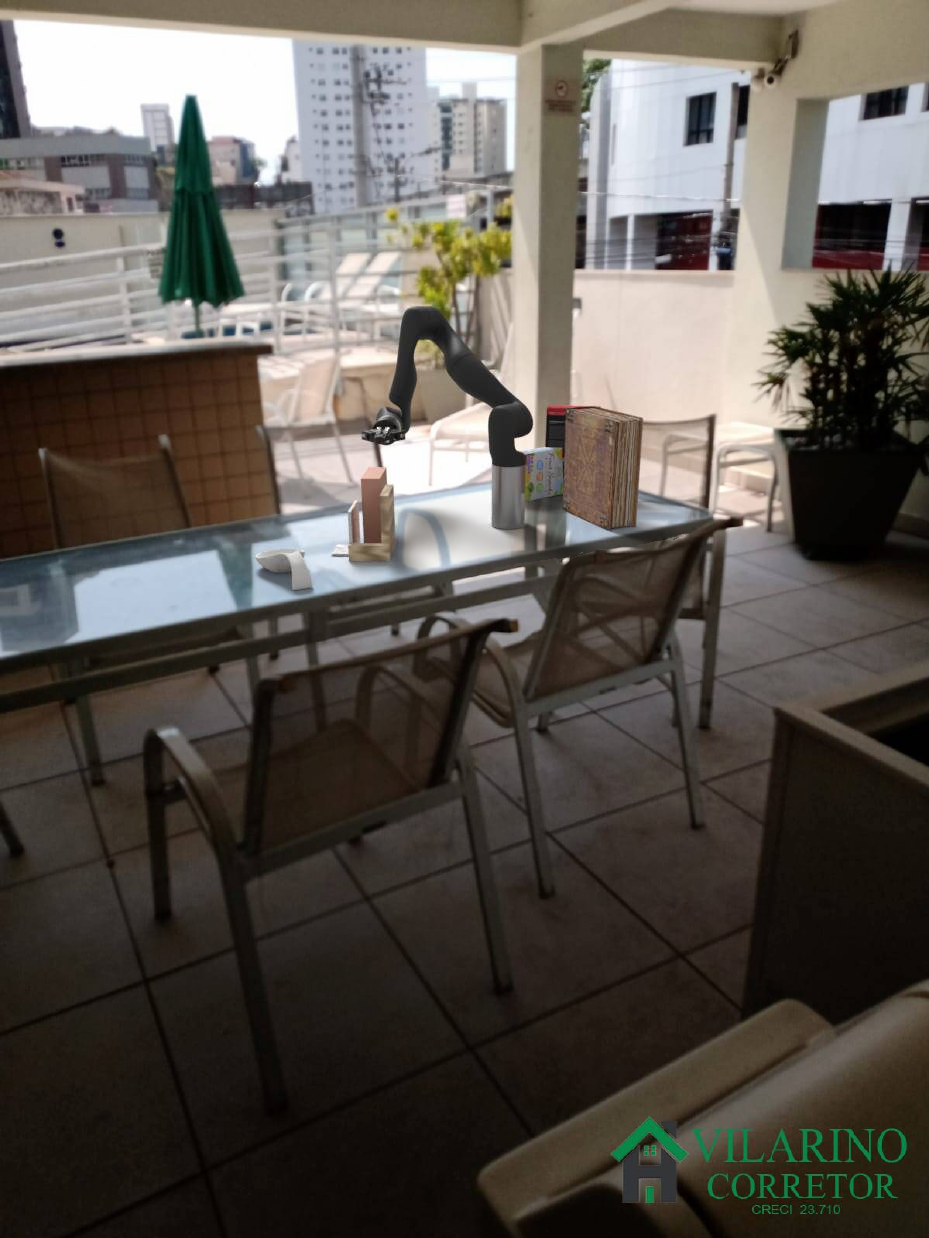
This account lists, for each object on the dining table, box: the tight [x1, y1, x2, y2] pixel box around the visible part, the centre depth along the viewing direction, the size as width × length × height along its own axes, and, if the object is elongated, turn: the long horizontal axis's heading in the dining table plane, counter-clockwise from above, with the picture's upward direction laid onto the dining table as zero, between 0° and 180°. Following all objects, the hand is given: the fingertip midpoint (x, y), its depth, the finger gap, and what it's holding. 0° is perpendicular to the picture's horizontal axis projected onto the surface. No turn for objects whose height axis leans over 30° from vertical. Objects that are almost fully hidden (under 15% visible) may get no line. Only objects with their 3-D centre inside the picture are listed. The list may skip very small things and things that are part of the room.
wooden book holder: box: [347, 484, 397, 562], centre depth 224 cm, size 10×14×16 cm
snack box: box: [520, 446, 563, 503], centre depth 278 cm, size 21×6×15 cm, turn 128°
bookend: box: [331, 499, 361, 557], centre depth 226 cm, size 6×12×12 cm, turn 178°
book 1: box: [360, 466, 388, 543], centre depth 235 cm, size 5×14×18 cm, turn 178°
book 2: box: [562, 405, 644, 532], centre depth 252 cm, size 25×9×30 cm, turn 24°
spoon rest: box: [254, 547, 314, 591], centre depth 210 cm, size 24×12×7 cm, turn 28°
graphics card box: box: [544, 404, 602, 486], centre depth 282 cm, size 17×7×27 cm, turn 83°
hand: (379, 440), depth 242 cm, fingers closed
